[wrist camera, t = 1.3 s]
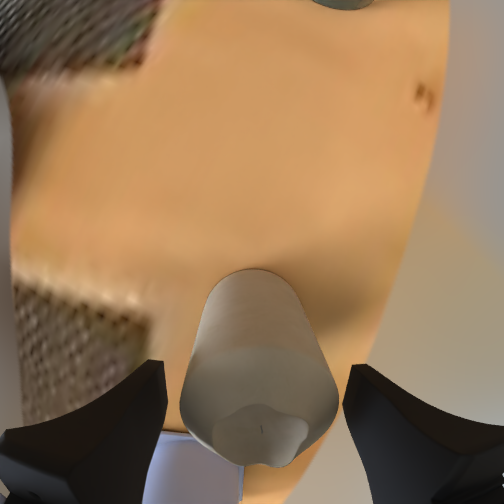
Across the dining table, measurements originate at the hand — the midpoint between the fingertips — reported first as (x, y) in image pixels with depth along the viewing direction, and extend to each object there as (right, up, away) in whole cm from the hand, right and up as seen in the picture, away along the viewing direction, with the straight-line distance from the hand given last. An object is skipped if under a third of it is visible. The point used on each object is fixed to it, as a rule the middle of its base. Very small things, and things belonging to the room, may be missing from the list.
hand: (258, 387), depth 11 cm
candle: (0, +2, +7) cm, 7 cm away
